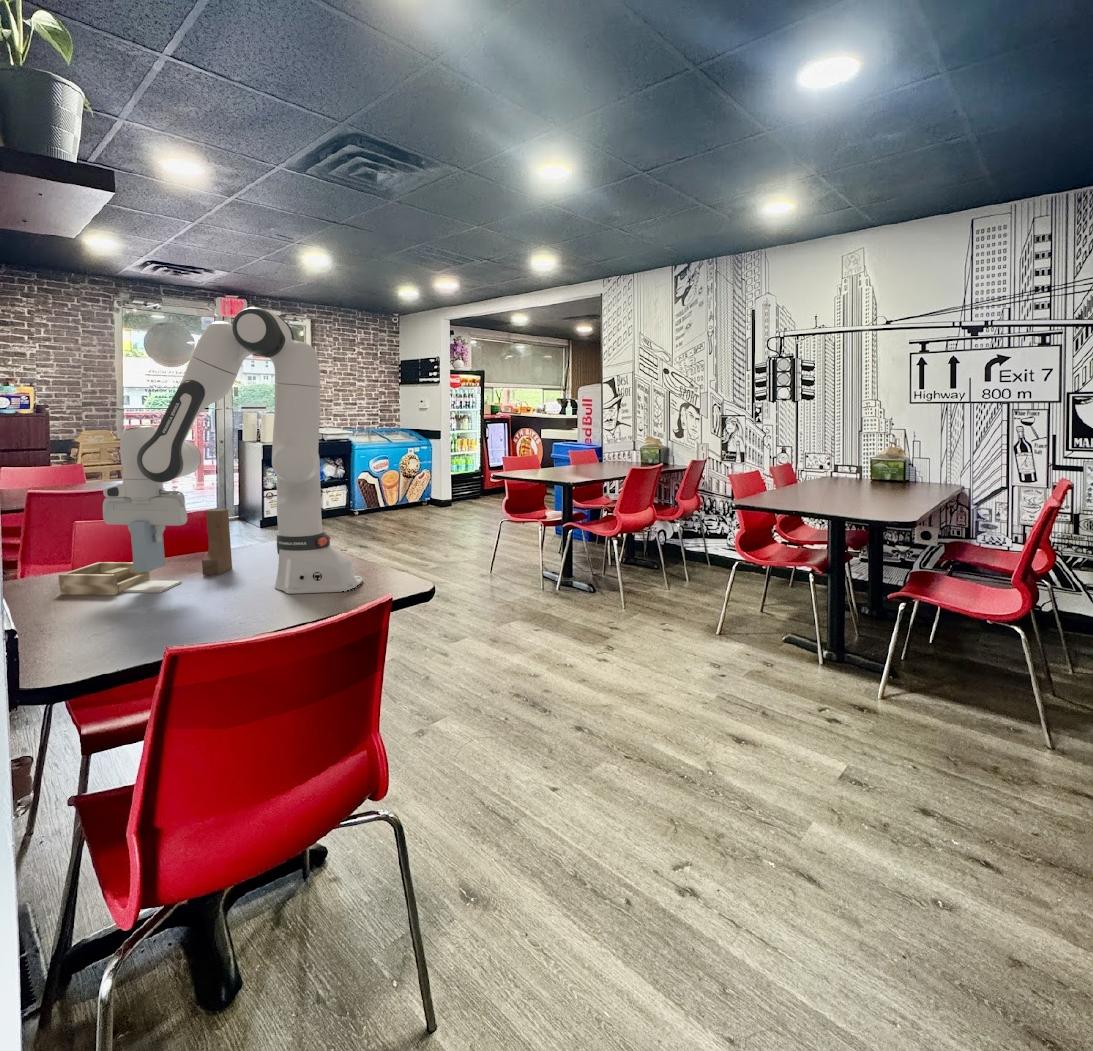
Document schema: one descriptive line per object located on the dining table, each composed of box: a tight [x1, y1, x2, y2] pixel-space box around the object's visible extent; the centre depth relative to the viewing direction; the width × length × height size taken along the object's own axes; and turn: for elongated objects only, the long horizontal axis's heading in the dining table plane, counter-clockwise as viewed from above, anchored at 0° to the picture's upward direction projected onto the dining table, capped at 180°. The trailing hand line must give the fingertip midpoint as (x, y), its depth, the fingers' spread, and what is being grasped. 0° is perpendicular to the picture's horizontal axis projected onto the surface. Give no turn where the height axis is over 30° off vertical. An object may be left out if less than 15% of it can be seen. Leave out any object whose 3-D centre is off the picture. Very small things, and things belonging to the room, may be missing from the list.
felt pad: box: [122, 579, 182, 594], centre depth 177 cm, size 10×10×1 cm
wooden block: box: [201, 508, 233, 576], centre depth 193 cm, size 9×4×18 cm, turn 0°
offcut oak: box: [103, 568, 130, 581], centre depth 176 cm, size 3×6×2 cm, turn 171°
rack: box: [57, 561, 151, 596], centre depth 177 cm, size 14×15×5 cm
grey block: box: [130, 521, 166, 573], centre depth 175 cm, size 4×8×13 cm, turn 0°
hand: (147, 541), depth 175 cm, fingers closed on grey block, 3 cm apart
